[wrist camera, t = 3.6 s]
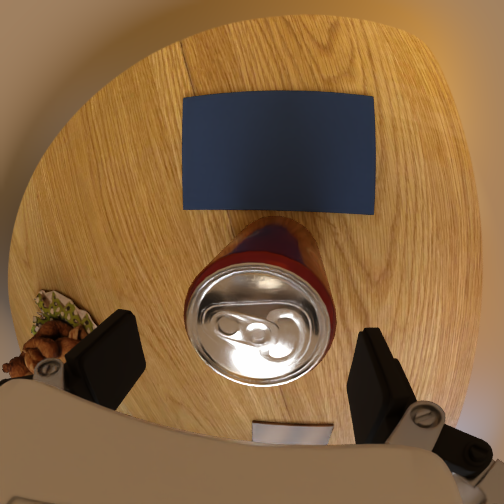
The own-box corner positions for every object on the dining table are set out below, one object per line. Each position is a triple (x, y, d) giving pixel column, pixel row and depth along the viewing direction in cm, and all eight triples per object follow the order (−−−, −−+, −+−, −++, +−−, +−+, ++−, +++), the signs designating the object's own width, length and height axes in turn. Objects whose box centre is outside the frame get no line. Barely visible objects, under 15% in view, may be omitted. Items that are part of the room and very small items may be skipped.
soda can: (331, 230, 22) (365, 286, 10) (302, 307, 24) (301, 405, 13) (246, 203, 22) (195, 231, 11) (224, 282, 25) (170, 363, 13)
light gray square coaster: (333, 424, 28) (333, 426, 27) (320, 461, 30) (320, 463, 30) (252, 420, 29) (252, 422, 29) (252, 458, 32) (252, 460, 31)
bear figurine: (113, 394, 33) (71, 448, 21) (44, 343, 33) (-3, 380, 22) (120, 328, 28) (55, 390, 17) (40, 273, 29) (-25, 306, 17)
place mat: (372, 97, 18) (373, 96, 18) (372, 214, 21) (373, 215, 21) (184, 98, 21) (183, 97, 20) (184, 209, 23) (183, 209, 23)
